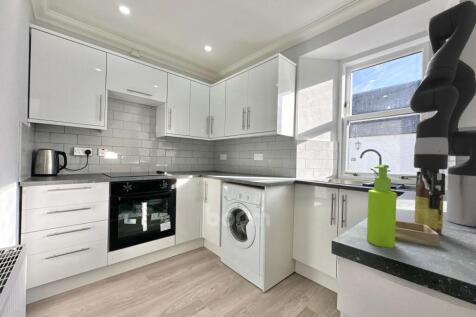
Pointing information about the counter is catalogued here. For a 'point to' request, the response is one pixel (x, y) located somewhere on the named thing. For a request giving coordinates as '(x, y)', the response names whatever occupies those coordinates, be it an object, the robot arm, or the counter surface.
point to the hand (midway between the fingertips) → (428, 206)
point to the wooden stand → (416, 233)
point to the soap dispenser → (381, 211)
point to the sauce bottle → (427, 208)
